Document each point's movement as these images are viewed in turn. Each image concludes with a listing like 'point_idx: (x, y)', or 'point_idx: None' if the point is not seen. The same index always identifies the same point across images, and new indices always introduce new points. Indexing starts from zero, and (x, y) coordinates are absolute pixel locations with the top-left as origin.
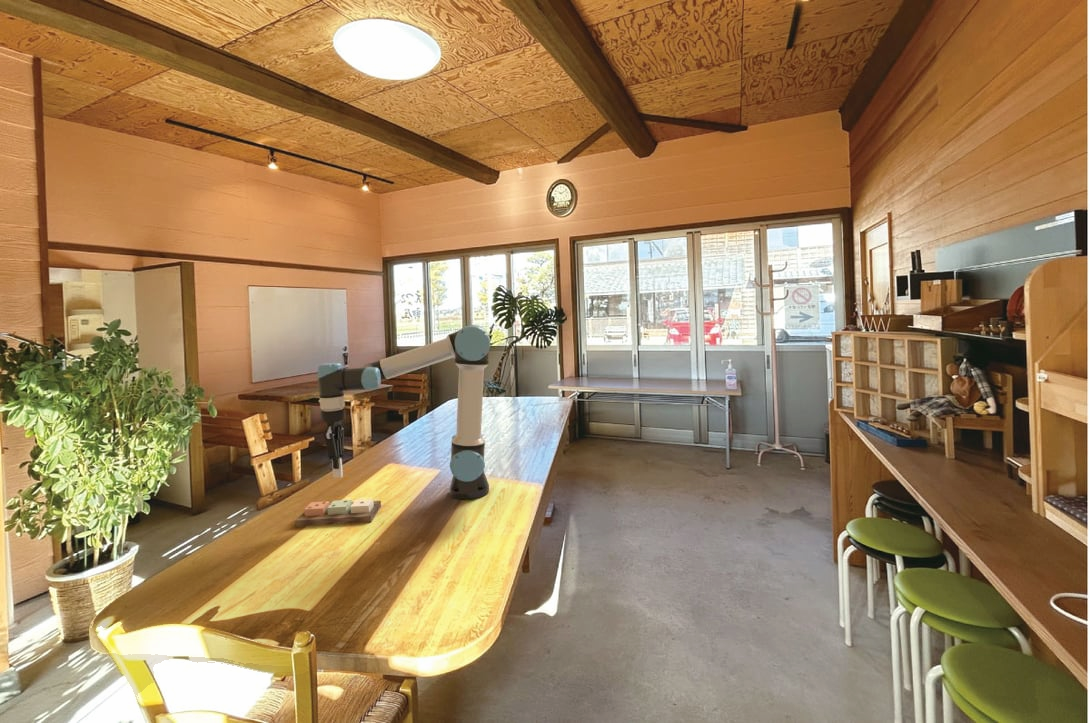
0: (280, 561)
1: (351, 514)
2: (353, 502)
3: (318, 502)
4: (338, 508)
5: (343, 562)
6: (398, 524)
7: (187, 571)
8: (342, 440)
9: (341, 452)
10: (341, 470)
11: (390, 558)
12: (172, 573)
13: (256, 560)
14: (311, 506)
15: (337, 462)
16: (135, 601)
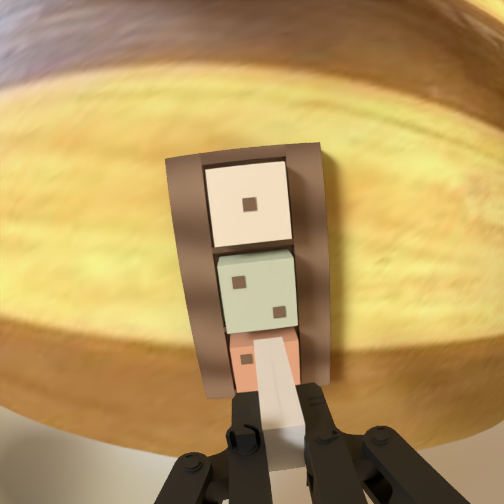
0: (480, 299)
1: (302, 224)
2: (182, 267)
3: (240, 378)
4: (294, 284)
5: (500, 155)
6: (326, 52)
7: (456, 423)
8: None
9: (242, 467)
10: (277, 361)
11: (482, 59)
12: (453, 436)
13: (463, 350)
14: None
15: (322, 414)
16: (500, 413)
